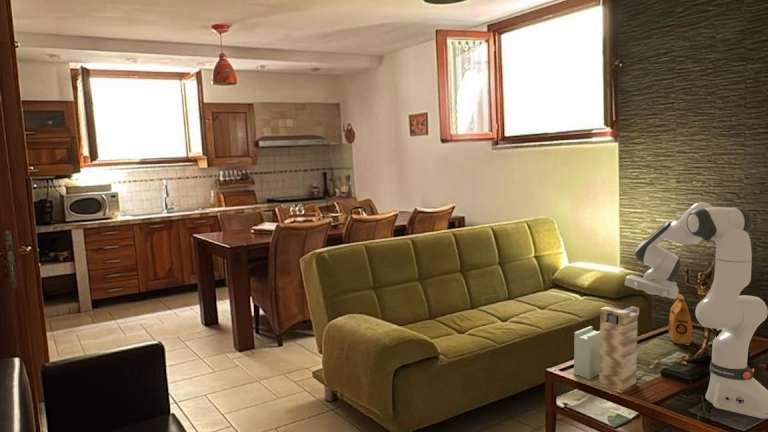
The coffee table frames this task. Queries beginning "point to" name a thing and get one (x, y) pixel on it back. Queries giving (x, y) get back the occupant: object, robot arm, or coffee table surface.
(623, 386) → the socket tower
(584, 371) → the cradle
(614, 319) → the connector
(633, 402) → the coffee table surface
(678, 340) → the coffee package
